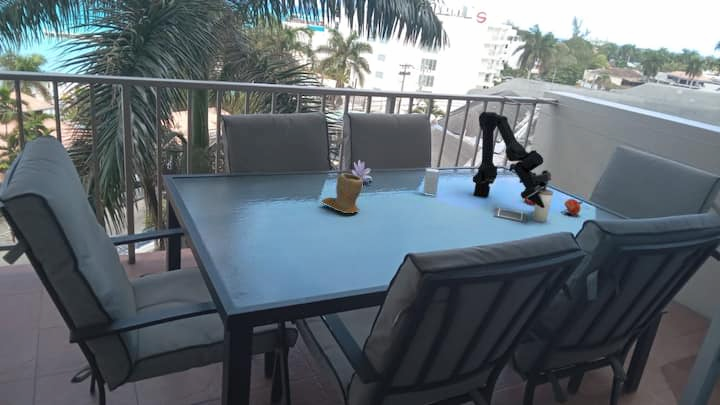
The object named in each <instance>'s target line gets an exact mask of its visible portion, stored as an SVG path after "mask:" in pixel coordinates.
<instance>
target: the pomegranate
mask: <svg viewBox="0 0 720 405" xmlns="http://www.w3.org/2000/svg"><path fill="white" fill-rule="evenodd" d="M581 204H583V201H578V200H576V199H574V198H573V199H572V198H569V199H567V201H565V202H564V206H565V207H566V209H564V210H563V211H560V213H563V212H566V211H568V213H569V214H570V215H571V216H576V215H578V214H580V211H581V209H582V208H581Z"/></svg>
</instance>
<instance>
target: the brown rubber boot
mask: <svg viewBox="0 0 720 405" xmlns="http://www.w3.org/2000/svg"><path fill="white" fill-rule="evenodd" d="M363 182H364V180H363V179H361V178H360V177H358V176H356V175H354V174H353V173H346V172H343V173H341V174H339V175H338V176H337V182H336V197H326V198H324V199H322V200H321V201H320V203H321V202H323V203H325V204H327V205H329V206H331V207H333V208H335V209H337V210H339V211H341V212H345V213H352V212H356V211H358V210H359V211H360V208H359V207H358V206H357V204H356V203H357V202H356V201H357V200H358V198H359V195H360V194H361V192H362V188H363ZM359 211H358V212H359ZM341 212H340V213H341Z"/></svg>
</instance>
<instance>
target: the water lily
mask: <svg viewBox="0 0 720 405" xmlns="http://www.w3.org/2000/svg"><path fill="white" fill-rule="evenodd" d="M353 165H354V169H352V170H351V174H352V175H355V176H358V177H360V178H361V179H362V180H363V182H365V180H364V179H366V178H370V179H372V176H370V175H368V174H370V172H371V168H369V167H368V168H365V161H362V162H361V160H360V159H359V160H358V162H357V163H356V162H353ZM366 180H367V179H366Z"/></svg>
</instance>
